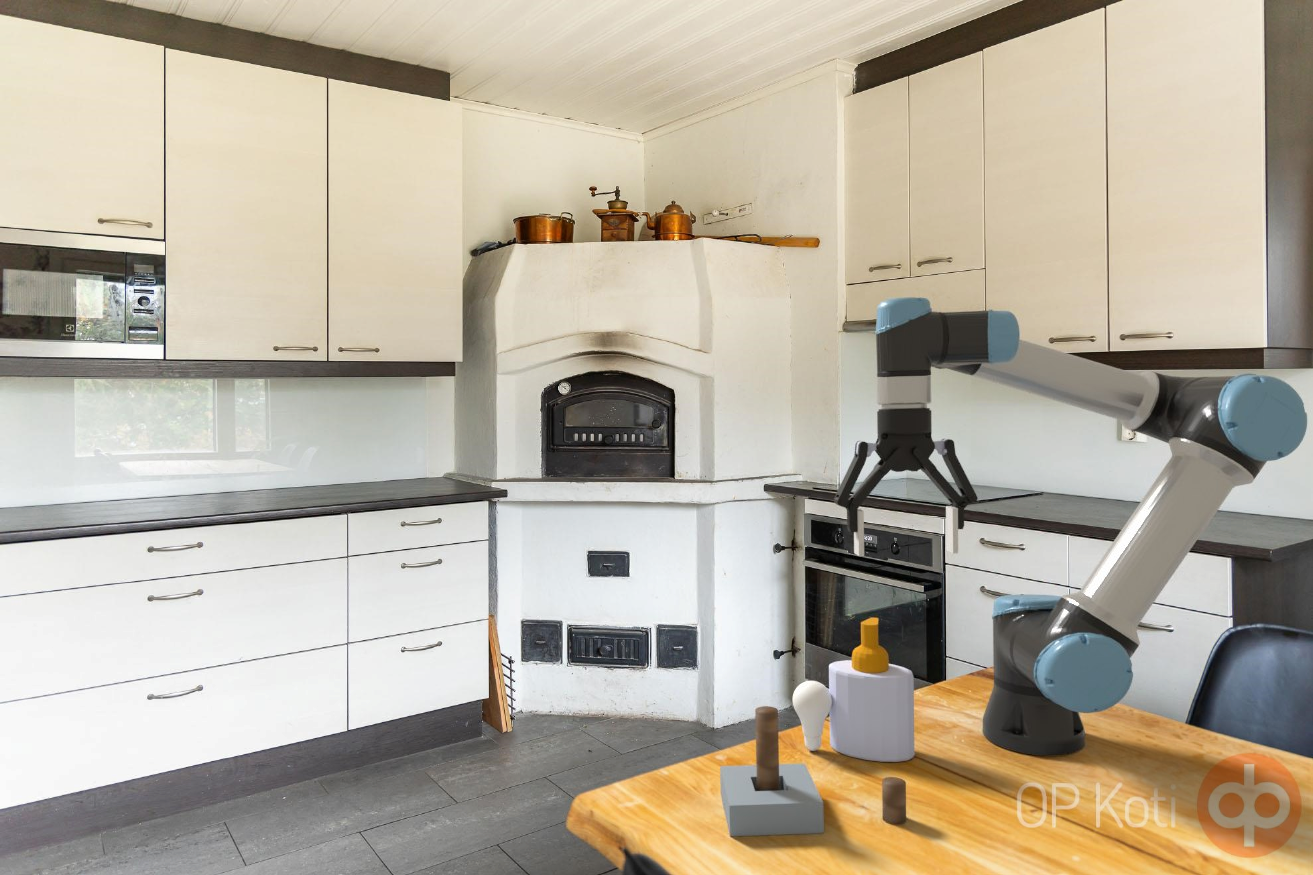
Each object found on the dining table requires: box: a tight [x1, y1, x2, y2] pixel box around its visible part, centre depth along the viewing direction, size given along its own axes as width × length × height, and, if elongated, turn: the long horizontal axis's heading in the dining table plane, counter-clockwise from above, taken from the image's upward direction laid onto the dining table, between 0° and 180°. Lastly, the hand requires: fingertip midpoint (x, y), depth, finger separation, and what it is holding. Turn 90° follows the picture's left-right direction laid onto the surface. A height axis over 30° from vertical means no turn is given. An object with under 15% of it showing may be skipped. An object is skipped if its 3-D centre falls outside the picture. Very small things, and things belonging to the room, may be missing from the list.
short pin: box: [881, 776, 907, 826], centre depth 114 cm, size 3×3×5 cm
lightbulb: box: [792, 680, 832, 752], centre depth 137 cm, size 6×6×11 cm
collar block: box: [719, 762, 825, 837], centre depth 117 cm, size 12×12×4 cm
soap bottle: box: [828, 617, 915, 763], centre depth 136 cm, size 13×8×20 cm, turn 63°
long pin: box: [754, 705, 780, 791], centre depth 117 cm, size 3×3×14 cm
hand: (905, 553), depth 126 cm, fingers open, 13 cm apart
